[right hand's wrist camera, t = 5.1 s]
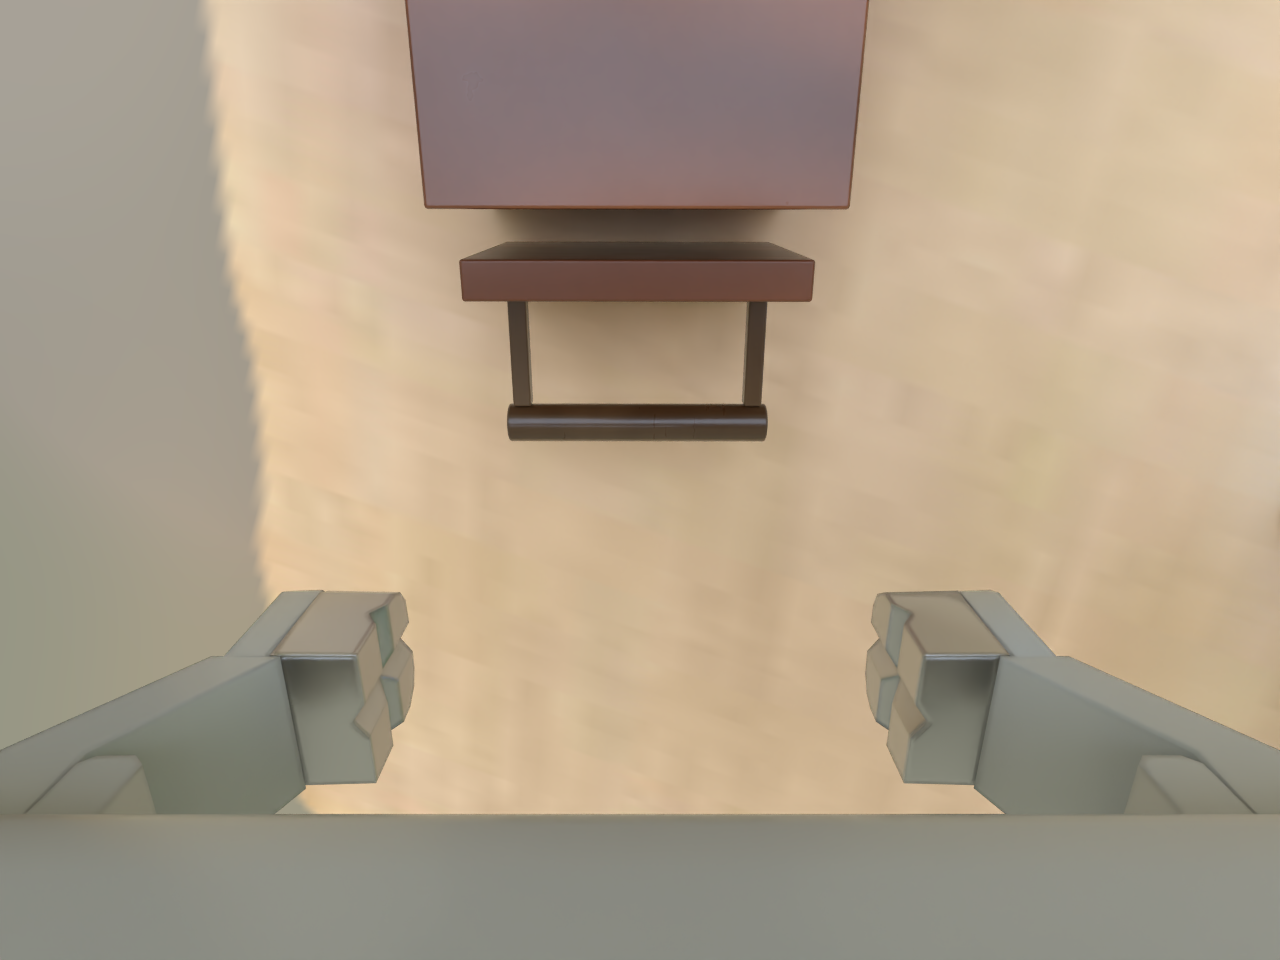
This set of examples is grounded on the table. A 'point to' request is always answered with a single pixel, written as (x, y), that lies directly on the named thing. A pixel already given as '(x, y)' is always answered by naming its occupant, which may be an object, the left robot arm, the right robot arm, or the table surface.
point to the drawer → (637, 278)
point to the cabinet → (637, 102)
